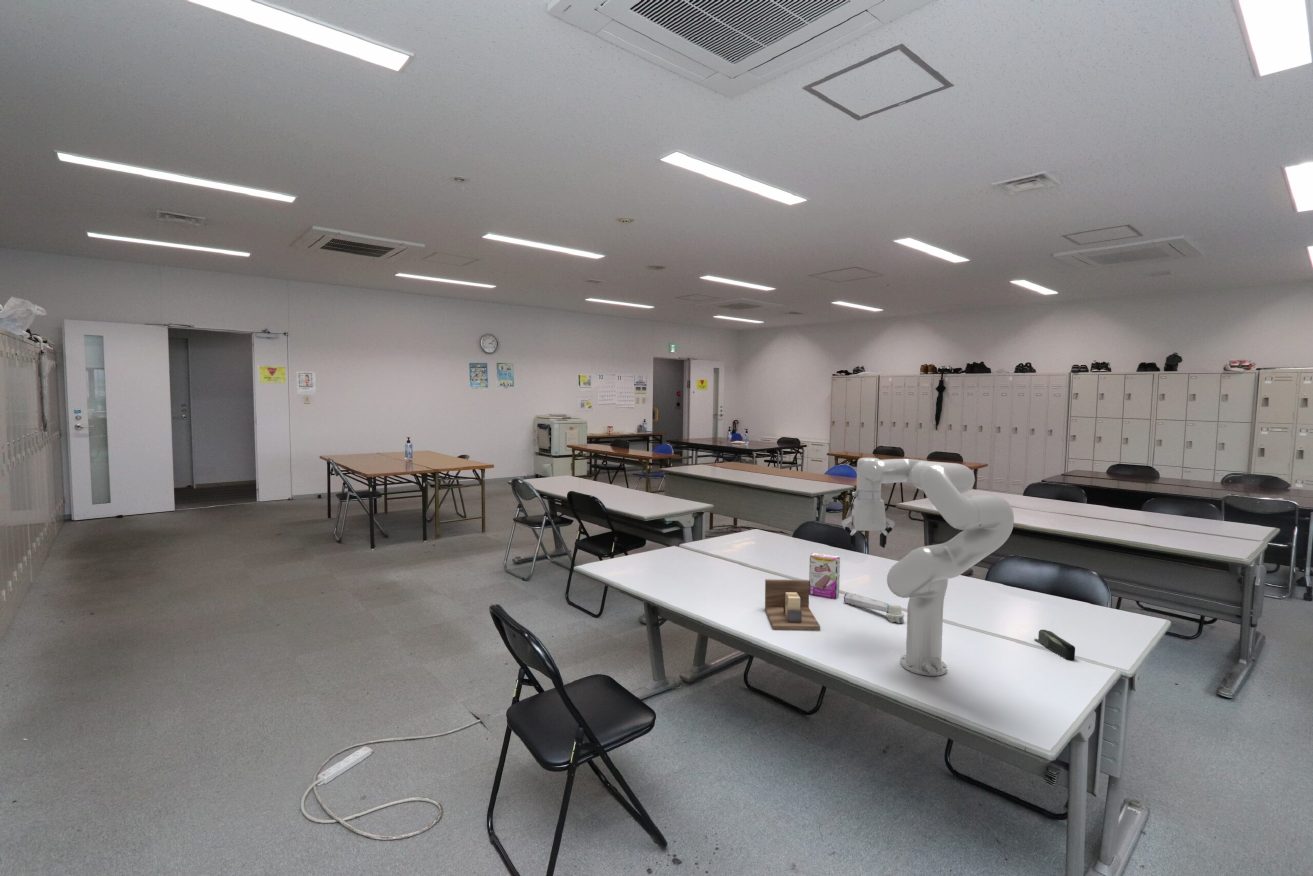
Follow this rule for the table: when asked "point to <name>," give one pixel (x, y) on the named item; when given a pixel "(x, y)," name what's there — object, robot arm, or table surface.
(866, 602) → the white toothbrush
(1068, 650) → the dark green stapler
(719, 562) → the table surface
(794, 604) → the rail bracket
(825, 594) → the candy bar box
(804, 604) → the wooden bookend
